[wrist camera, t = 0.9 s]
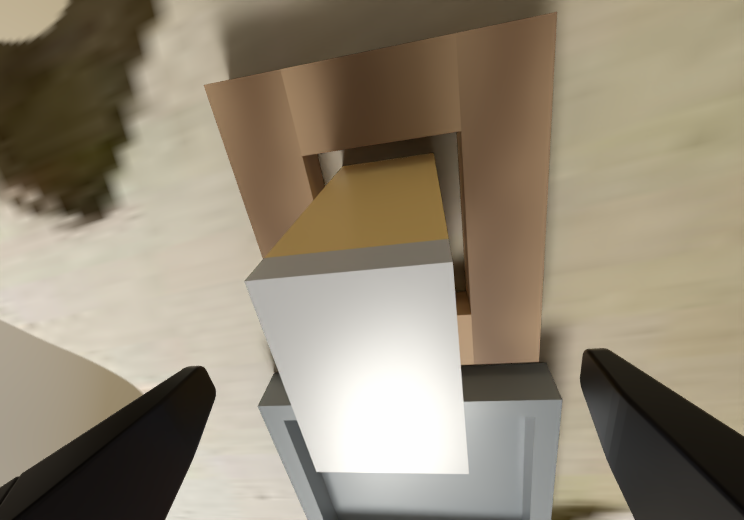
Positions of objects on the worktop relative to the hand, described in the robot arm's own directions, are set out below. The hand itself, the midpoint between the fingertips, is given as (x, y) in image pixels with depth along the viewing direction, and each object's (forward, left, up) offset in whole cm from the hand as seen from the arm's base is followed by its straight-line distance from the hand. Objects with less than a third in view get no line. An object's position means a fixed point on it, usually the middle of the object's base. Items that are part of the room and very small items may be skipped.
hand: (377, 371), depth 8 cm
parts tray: (+1, +17, -9) cm, 19 cm away
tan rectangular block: (0, 0, -9) cm, 9 cm away
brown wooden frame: (0, 0, -9) cm, 9 cm away
